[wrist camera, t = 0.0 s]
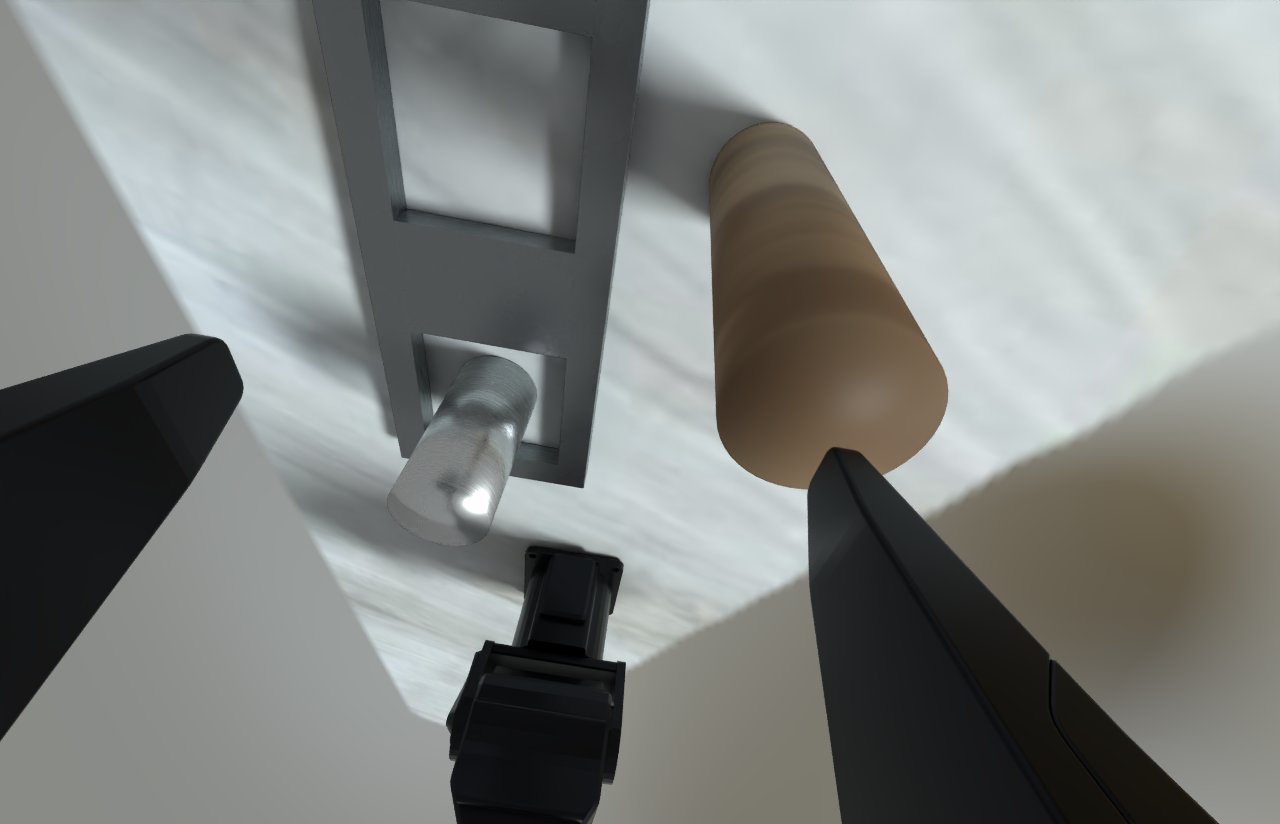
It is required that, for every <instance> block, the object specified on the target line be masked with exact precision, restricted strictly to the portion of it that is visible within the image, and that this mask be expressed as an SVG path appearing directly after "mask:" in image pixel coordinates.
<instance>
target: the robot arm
mask: <svg viewBox="0 0 1280 824" xmlns="http://www.w3.org/2000/svg"><path fill="white" fill-rule="evenodd" d="M243 388H244V387H243V381H242V379H241V376H240V374H239V371H238V369H237V367H236V364H235V362H234V360H233V357H232V355H231V352H230V350H229V348H228V346H227V344H226V343H225V342H224V341H223V340H221V339H219V338H216V337H211V336H205V335H200V334H184V335H180V336H177V337H174V338H171V339H167V340H164V341H160V342H157V343H154V344H151V345H147V346H144V347H140V348H138V349H134V350H130V351H127V352H124V353H121V354H117V355H114V356H111V357H107V358H104V359H101V360H97V361H94V362H91V363H88V364H84V365H81V366H77V367H74V368H71V369H67V370H64V371H61V372H58V373H54V374H51V375H48V376H44V377H41V378H37V379H34V380H31V381H27V382H24V383H21V384H18V385H14V386H11V387H7V388H4V389H1V390H0V741H1V740H2V739H3V737H4V736H5V735H6V733H7V732H8V730H9V729H10V728H11V726H12V725H13V724H14V722H15V721H16V720H17V718H18V717H19V716H20V714H21V713H22V711H23V710H24V709H25V707H26V706H27V705H28V704H29V702H30V701H31V699H32V698H33V697H34V695H35V694H36V693H37V691H38V690H39V689H40V687H41V686H42V685H43V683H44V682H45V680H46V679H47V678H48V676H49V675H50V674H51V672H52V671H53V670H54V668H55V667H56V666H57V664H58V663H59V662H60V660H61V659H62V658H63V656H64V655H65V653H66V652H67V651H68V650H69V648H70V647H71V646H72V644H73V643H74V641H75V640H76V639H77V637H78V636H79V635H80V633H81V632H82V631H83V629H84V628H85V627H86V625H87V624H88V623H89V621H90V620H91V619H92V617H93V616H94V615H95V613H96V612H97V610H98V609H99V608H100V606H101V605H102V604H103V602H104V601H105V600H106V598H107V597H108V596H109V594H110V593H111V592H112V590H113V589H114V588H115V586H116V585H117V584H118V582H119V581H120V579H121V578H122V577H123V575H124V574H125V573H126V571H127V570H128V569H129V567H130V566H131V565H132V563H133V562H134V561H135V559H136V558H137V557H138V555H139V554H140V552H141V551H142V550H143V548H144V547H145V546H146V544H147V543H148V542H149V540H150V539H151V538H152V536H153V535H154V534H155V532H156V531H157V529H158V528H159V527H160V525H161V524H162V523H163V521H164V520H165V519H166V517H167V516H168V515H169V513H170V512H171V511H172V509H173V508H174V507H175V505H176V504H177V503H178V501H179V500H180V498H181V497H182V496H183V494H184V493H185V491H186V490H187V489H188V487H189V486H190V484H191V483H192V481H193V480H194V478H195V476H196V475H197V473H198V471H199V470H200V468H201V466H202V464H203V463H204V462H205V460H206V458H207V456H208V455H209V453H210V451H211V450H212V447H213V446H214V444H215V442H216V441H217V439H218V437H219V436H220V434H221V432H222V431H223V429H224V427H225V425H226V424H227V422H228V420H229V419H230V417H231V415H232V414H233V412H234V410H235V408H236V407H237V405H238V403H239V402H240V400H241V398H242V394H243ZM807 505H808V557H809V586H810V595H811V604H812V610H813V618H814V626H815V633H816V639H817V647H818V655H819V662H820V669H821V675H822V683H823V690H824V698H825V705H826V712H827V720H828V726H829V734H830V741H831V747H832V756H833V763H834V770H835V777H836V784H837V792H838V799H839V805H840V813H841V821H842V824H1219V823H1218V822H1217V821H1216V820H1215V819H1214V818H1213V817H1211V816H1210V815H1209V814H1208V813H1207V812H1206V811H1205V810H1204V809H1203V808H1202V807H1201V806H1200V805H1199V804H1198V803H1197V802H1196V801H1195V800H1194V799H1193V798H1192V797H1191V796H1190V795H1189V794H1187V793H1186V792H1185V791H1184V790H1183V789H1182V788H1181V787H1180V786H1179V785H1178V784H1177V783H1176V782H1175V781H1174V780H1173V779H1172V778H1171V777H1170V776H1169V775H1168V774H1167V773H1166V772H1165V771H1164V770H1163V769H1162V768H1161V767H1160V766H1159V765H1158V764H1157V763H1156V762H1154V761H1153V760H1152V759H1151V758H1150V757H1149V756H1148V755H1147V754H1146V753H1145V752H1144V751H1143V750H1142V749H1141V748H1140V747H1139V746H1138V745H1137V744H1136V743H1135V742H1134V741H1133V740H1132V739H1131V738H1130V737H1129V736H1128V735H1127V734H1126V733H1125V732H1124V731H1123V730H1122V729H1121V728H1120V727H1119V726H1118V725H1117V724H1116V723H1115V722H1114V721H1113V720H1112V719H1111V718H1110V717H1109V715H1108V714H1107V713H1106V712H1105V711H1104V710H1103V709H1102V708H1101V707H1100V706H1099V705H1098V704H1097V703H1096V702H1095V701H1094V700H1093V699H1092V698H1091V697H1090V696H1089V695H1088V694H1087V693H1086V692H1085V691H1084V690H1083V689H1082V688H1081V686H1079V684H1078V683H1077V682H1076V681H1075V680H1074V679H1073V678H1072V677H1071V676H1070V675H1069V674H1068V673H1067V672H1066V671H1065V669H1063V667H1061V665H1060V664H1059V663H1058V662H1057V661H1056V660H1054V659H1050V654H1049V653H1048V652H1047V651H1046V649H1045V648H1044V647H1043V646H1042V645H1041V644H1040V643H1039V642H1038V641H1037V640H1036V639H1035V638H1034V637H1033V636H1032V635H1031V634H1030V632H1029V631H1028V630H1027V629H1026V628H1025V627H1024V626H1023V625H1022V624H1021V623H1020V622H1019V621H1018V620H1017V619H1016V617H1015V616H1014V615H1013V614H1012V613H1011V612H1010V611H1009V610H1008V609H1007V608H1006V607H1005V606H1004V605H1003V604H1002V603H1001V602H1000V600H999V599H998V598H997V597H996V596H995V595H994V594H993V593H992V592H991V591H990V590H989V589H988V588H987V587H986V586H985V585H984V584H983V582H982V581H981V580H980V579H979V578H978V577H977V576H976V575H975V574H974V573H973V572H972V571H971V569H970V568H969V567H968V566H967V565H966V564H965V563H964V562H963V561H962V560H961V559H960V558H959V557H958V556H957V555H956V553H955V552H954V551H953V550H952V549H951V548H950V547H949V546H948V545H947V544H946V543H945V542H944V541H943V540H942V539H941V538H940V536H939V535H938V534H937V533H936V532H935V531H934V530H933V529H932V528H931V527H930V526H929V525H928V524H927V523H926V521H925V520H924V519H923V518H922V517H921V516H920V515H919V514H918V513H917V512H916V511H915V510H914V509H913V508H912V507H911V505H910V504H909V503H908V502H907V501H906V500H905V499H904V498H903V497H902V496H901V495H900V494H899V493H898V492H897V491H896V489H895V488H894V487H893V486H892V485H891V484H890V483H889V482H888V481H887V480H886V479H885V478H884V477H883V476H882V475H881V473H880V472H879V471H878V470H877V469H876V468H875V467H874V466H873V465H872V464H871V463H870V462H869V461H868V460H867V459H866V457H865V456H864V455H863V454H861V453H860V452H859V451H857V450H852V449H847V448H841V447H832V448H830V449H829V450H828V451H827V452H826V454H825V456H824V457H823V459H822V461H821V463H820V465H819V467H818V468H817V470H816V472H815V474H814V476H813V478H812V479H811V481H810V484H809V488H808V494H807ZM623 566H624V565H623V563H622V562H621V561H618V560H612V559H606V558H600V557H594V556H588V555H582V554H576V553H570V552H564V551H558V550H552V549H546V548H540V547H532V546H531V547H528V548H527V551H526V554H525V585H524V603H523V607H522V610H521V614H520V618H519V621H518V625H517V629H516V632H515V636H514V639H513V643H512V646H510V645H504V644H498V643H495V641H489V640H486V641H485V643H484V646H483V648H482V651H479V652H476V653H475V656H474V659H473V662H472V665H471V669H470V672H469V674H468V677H467V680H466V682H465V684H464V686H463V688H462V690H461V692H460V693H459V695H458V697H457V699H456V701H455V703H454V705H453V707H452V709H451V711H450V712H449V715H448V717H447V721H446V726H447V728H448V730H449V732H450V734H451V736H450V751H449V759H450V760H451V761H455V765H454V768H453V772H452V776H451V780H450V783H451V792H452V797H453V804H454V810H455V816H456V821H457V824H592V822H593V819H594V816H595V813H596V810H597V807H598V804H599V800H600V795H601V787H602V783H603V784H610V785H611V784H612V783H613V780H614V776H615V770H616V766H617V759H618V753H619V745H620V737H621V727H622V713H623V697H624V683H625V669H626V662H621V661H617V662H611V661H604V660H602V659H603V652H604V645H605V638H606V631H607V623H608V616H609V615H611V614H612V613H613V610H614V606H615V602H616V597H617V593H618V589H619V585H620V581H621V577H622V573H623Z"/></svg>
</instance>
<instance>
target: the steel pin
mask: <svg viewBox="0 0 1280 824" xmlns="http://www.w3.org/2000/svg"><path fill="white" fill-rule="evenodd" d="M536 400H537V390H536V386H535V384H534V382H533V380H532V378H531V377H530V376H529V374H528V373H527V372H526V371H525V370H524V369H522V368H521V367H520V366H518V365H517V364H515V363H513V362H511V361H509V360H506V359H503V358H500V357H494V356H483V357H477V358H474V359H472V360H470V361H468V362H467V363H466V364H465V365H464V366H463V367H462V368H461V370H460V372H459V373H458V375H457V377H456V379H455V380H454V382H453V384H452V386H451V387H450V389H449V391H448V393H447V394H446V396H445V398H444V399H443V401H442V403H441V405H440V406H439V408H438V410H437V412H436V413H435V415H434V417H433V419H432V420H431V422H430V424H429V425H428V427H427V429H426V431H425V432H424V434H423V436H422V438H421V439H420V441H419V443H418V445H417V446H416V448H415V450H414V451H413V453H412V455H411V457H410V458H409V460H408V462H407V464H406V465H405V467H404V469H403V471H402V472H401V474H400V476H399V477H398V479H397V481H396V483H395V484H394V486H393V488H392V490H391V491H390V493H389V495H388V498H387V505H388V509H389V511H390V513H391V515H392V516H393V518H394V519H395V520H396V521H397V522H398V523H399V524H400V525H401V526H402V527H403V528H404V529H406V530H407V531H409V532H410V533H412V534H414V535H416V536H418V537H420V538H422V539H424V540H427V541H430V542H433V543H437V544H442V545H449V546H463V545H469V544H473V543H476V542H478V541H480V540H481V539H483V538H484V537H485V536H486V535H487V533H488V531H489V528H490V526H491V523H492V520H493V518H494V515H495V512H496V509H497V507H498V504H499V501H500V499H501V496H502V493H503V490H504V488H505V485H506V482H507V480H508V477H509V474H510V471H511V469H512V466H513V463H514V461H515V458H516V455H517V452H518V450H519V447H520V444H521V442H522V439H523V436H524V433H525V431H526V428H527V425H528V423H529V420H530V417H531V414H532V412H533V409H534V406H535V404H536Z"/></svg>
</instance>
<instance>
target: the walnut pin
mask: <svg viewBox="0 0 1280 824" xmlns="http://www.w3.org/2000/svg"><path fill="white" fill-rule="evenodd" d="M709 201H710V233H711V265H712V296H713V328H714V360H715V392H716V420H717V429H718V432H719V436H720V439H721V441H722V443H723V445H724V447H725V449H726V450H727V452H728V453H729V455H730V456H731V457H732V458H733V459H734V460H735V461H736V462H737V463H738V464H739V465H740V466H741V467H743V468H744V469H745V470H746V471H748V472H750V473H751V474H753V475H755V476H756V477H759V478H761V479H763V480H765V481H768V482H771V483H774V484H777V485H781V486H785V487H790V488H797V489H808V488H809V484H810V481H811V479H812V478H813V476H814V474H815V472H816V470H817V468H818V467H819V465H820V463H821V461H822V459H823V457H824V456H825V454H826V452H827V451H828V450H829V449H830V448H832V447H841V448H847V449H852V450H857V451H859V452H860V453H861V454H863V455H864V456H865V457H866V459H867V460H868V461H869V462H870V463H871V464H872V465H873V466H874V467H875V468H876V469H877V470H878V471H879V472H880V473H881V475H884V474H886V473H888V472H890V471H892V470H894V469H895V468H897V467H899V466H900V465H902V464H903V463H905V462H906V461H908V460H909V459H910V458H911V457H913V456H914V455H915V454H917V453H918V452H919V451H920V450H921V449H922V448H923V447H924V446H925V445H926V444H927V442H928V441H929V440H930V439H931V437H932V436H933V435H934V433H935V432H936V430H937V429H938V427H939V425H940V423H941V421H942V419H943V416H944V414H945V410H946V406H947V402H948V385H947V378H946V375H945V372H944V369H943V367H942V365H941V364H940V362H939V360H938V358H937V357H936V355H935V353H934V352H933V350H932V348H931V346H930V345H929V343H928V341H927V339H926V338H925V336H924V334H923V333H922V331H921V329H920V327H919V326H918V324H917V322H916V321H915V319H914V317H913V315H912V314H911V312H910V310H909V308H908V307H907V305H906V303H905V302H904V300H903V298H902V296H901V295H900V293H899V291H898V289H897V288H896V286H895V284H894V283H893V281H892V279H891V277H890V276H889V274H888V272H887V270H886V269H885V267H884V265H883V264H882V262H881V260H880V258H879V257H878V255H877V253H876V252H875V250H874V248H873V246H872V245H871V243H870V241H869V239H868V238H867V236H866V234H865V233H864V231H863V229H862V227H861V226H860V224H859V222H858V220H857V219H856V217H855V215H854V214H853V212H852V210H851V208H850V207H849V205H848V203H847V201H846V200H845V198H844V196H843V195H842V193H841V191H840V189H839V188H838V186H837V184H836V183H835V181H834V179H833V177H832V176H831V174H830V172H829V170H828V169H827V167H826V165H825V164H824V162H823V160H822V158H821V157H820V155H819V153H818V151H817V150H816V148H815V146H814V145H813V143H812V142H811V140H810V139H809V138H808V137H807V136H806V135H805V134H804V133H803V132H801V131H800V130H798V129H797V128H794V127H792V126H790V125H787V124H783V123H776V122H770V123H761V124H757V125H754V126H751V127H749V128H746V129H744V130H742V131H741V132H739V133H738V134H736V135H735V136H734V137H733V138H731V139H730V140H729V141H728V142H727V143H726V144H725V145H724V147H723V148H722V149H721V151H720V152H719V154H718V156H717V157H716V159H715V162H714V164H713V167H712V170H711V174H710V180H709Z"/></svg>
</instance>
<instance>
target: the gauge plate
mask: <svg viewBox="0 0 1280 824" xmlns="http://www.w3.org/2000/svg"><path fill="white" fill-rule="evenodd" d="M410 1H415V2H419V3H424V4H429V5H434V6H439V7H444V8H449V9H454V10H459V11H464V12H469V13H474V14H479V15H484V16H489V17H494V18H499V19H504V20H509V21H514V22H519V23H524V24H529V25H534V26H539V27H544V28H549V29H554V30H559V31H564V32H569V33H574V34H579V35H584V36H589V37H592V49H591V61H590V74H589V86H588V99H587V111H586V123H585V136H584V148H583V161H582V173H581V185H580V198H579V210H578V223H577V235H576V241H574V240H569V239H564V238H558V237H553V236H548V235H542V234H537V233H531V232H526V231H521V230H515V229H510V228H505V227H499V226H494V225H489V224H483V223H478V222H473V221H467V220H462V219H456V218H451V217H446V216H440V215H435V214H430V213H424V212H419V211H414V210H408V209H406V202H405V194H404V187H403V179H402V171H401V163H400V156H399V148H398V140H397V133H396V125H395V117H394V110H393V102H392V94H391V87H390V79H389V71H388V64H387V56H386V48H385V41H384V33H383V25H382V18H381V10H380V2H379V0H312V2H313V7H314V12H315V17H316V22H317V27H318V32H319V38H320V43H321V48H322V53H323V58H324V63H325V68H326V73H327V78H328V83H329V89H330V94H331V99H332V104H333V109H334V114H335V119H336V124H337V129H338V135H339V140H340V145H341V150H342V155H343V160H344V165H345V170H346V175H347V181H348V186H349V191H350V196H351V201H352V206H353V211H354V216H355V221H356V227H357V232H358V237H359V242H360V247H361V252H362V257H363V262H364V267H365V273H366V278H367V283H368V288H369V293H370V298H371V303H372V308H373V313H374V319H375V324H376V329H377V334H378V339H379V344H380V349H381V354H382V359H383V364H384V370H385V375H386V380H387V385H388V390H389V395H390V400H391V405H392V410H393V416H394V421H395V426H396V431H397V436H398V441H399V446H400V451H401V456H402V458H408V459H409V458H410V457H411V455H412V453H413V451H414V450H415V448H416V446H417V445H418V443H419V441H420V439H421V438H422V436H423V434H424V432H425V431H426V429H427V427H428V425H429V424H430V422H431V420H432V419H433V409H432V401H431V394H430V386H429V378H428V371H427V363H426V355H425V348H424V340H423V333H424V334H430V335H436V336H441V337H447V338H452V339H458V340H464V341H469V342H475V343H480V344H486V345H492V346H497V347H503V348H508V349H514V350H520V351H525V352H531V353H536V354H542V355H548V356H553V357H559V358H564V359H566V372H565V384H564V396H563V409H562V421H561V434H560V446H559V449H557V448H551V447H545V446H540V445H534V444H528V443H522V442H521V444H520V447H519V450H518V452H517V455H516V458H515V461H514V463H513V466H512V469H511V471H510V474H509V476H514V477H520V478H525V479H531V480H537V481H543V482H549V483H555V484H561V485H567V486H572V487H578V488H584V484H585V479H586V475H587V469H588V461H589V454H590V446H591V439H592V431H593V424H594V416H595V409H596V401H597V394H598V387H599V379H600V372H601V364H602V357H603V349H604V342H605V334H606V327H607V319H608V312H609V304H610V297H611V290H612V282H613V275H614V267H615V260H616V252H617V245H618V237H619V230H620V222H621V215H622V208H623V200H624V193H625V185H626V178H627V170H628V163H629V155H630V148H631V140H632V133H633V125H634V118H635V111H636V103H637V96H638V88H639V81H640V73H641V66H642V58H643V51H644V43H645V36H646V29H647V21H648V14H649V6H650V0H410Z"/></svg>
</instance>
